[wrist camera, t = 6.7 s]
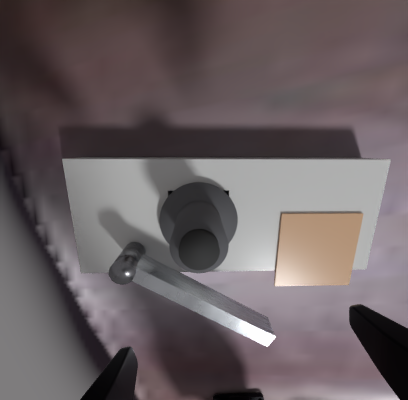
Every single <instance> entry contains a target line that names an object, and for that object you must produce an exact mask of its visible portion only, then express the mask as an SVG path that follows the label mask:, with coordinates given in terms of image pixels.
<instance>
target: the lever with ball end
mask: <svg viewBox="0 0 408 400" xmlns="http://www.w3.org/2000/svg"><path fill="white" fill-rule="evenodd" d="M145 253H146V251H145V248H144V246H143V245H142V244H140V243H138V242H130V243H128V244H127V245H126V246H125V248H124V249H123V250H122V252H121V253H120V255H119V256H118V257H117V259H116V260H115V261H114V263H113V264H112V265H111V267H110V269H109V277H110V278H111V280H112V281H114V282H115V283H117V284H122V285H123V284H128V283H130V282H131V281H132V282H135V283H137V284H139V285H141V286H143V287H145V288H147V289H149V290H151V291H153V292H155V293H157V294H159V295H161V296H163V297H165V298H168V299H170V300H172V301H174V302H176V303H178V304H180V305H182V306H184V307H186V308H188V309H190V310H192V311H194V312H196V313H199V314H201V315H203V316H205V317H207V318H209V319H211V320H213V321H215V322H217V323H219V324H221V325H223V326H225V327H227V328H229V329H232V330H234V331H236V332H238V333H240V334H242V335H244V336H246V337H248V338H250V339H252V340H254V341H256V342H258V343H260V344H262V345H265V346H267V347H268V345H269V344H270V343H271V342H272V341H273V340H274V338H275V337H276V336H275V334H274V331H273V329H272V327H271V324H270V322H269V319H268V317H266V316H264V315H262V314H260V313H258V312H256V311H254V310H252V309H250V308H248V307H246V306H244V305H242V304H240V303H239V302H237V301H235V300H233V299H231V298H229V297H227V296H225V295H223V294H221V293H219V292H217V291H215V290H213V289H211V288H209V287H207V286H205V285H203V284H201V283H199V282H198V281H196V280H194V279H192V278H190V277H188V276H186V275H184V274H182V273H180V272H178V271H176V270H174V269H172V268H170V267H168V266H166V265H164V264H162V263H160V262H158V261H157V260H155V259H153V258H151V257H149V256H147V255H145Z"/></svg>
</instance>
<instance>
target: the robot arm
mask: <svg viewBox="0 0 408 400" xmlns="http://www.w3.org/2000/svg"><path fill="white" fill-rule="evenodd" d="M349 322H350V325H351V328H352V329H353V331H354V332H355V334H356V336H357V337H358V339H359V340H360V342H361V344H362V345H363V347H364V348H365V350H366V352H367V353H368V355H369V356H370V358H371V359H372V361H373V363H374V364H375V366H376V367H377V369H378V370H379V372H380V373H381V375H382V376H383V377H384V379H385V380H386V382H387V383H388V384H389V386H390V387H391V388H392V390H393V391H394V392H395V394H396V395H397V396H398V398H399V399H400V400H408V328H406V327H404V326H402V325H400V324H398V323H396V322H394V321H392V320H390V319H389V318H387V317H385V316H383V315H381V314H379V313H377V312H375V311H373V310H371V309H369V308H368V307H366V306H364V305H361V304H358V305H352V306H350V308H349ZM137 368H138V362H137V358H136V356H135V353H134V351H133V348H132V347H125V348H121V349H120V350H119V351H118V353H117V354H116V355H115V356H114V358H113V359H112V360H111V361H110V363H109V364H108V365H107V367H106V368H105V369H104V370H103V372H102V373H101V374H100V375H99V377H98V378H97V379H96V380H95V382H94V383H93V384H92V385H91V387H90V388H89V389H88V390H87V392H86V393H85V394H84V396H83V397H82V398H81V399H80V400H133V398H134V390H135V383H136V375H137ZM213 400H264V398H263V395H262V394H261V393H249V394H217V395H214V396H213Z"/></svg>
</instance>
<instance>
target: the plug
mask: <svg viewBox="0 0 408 400" xmlns="http://www.w3.org/2000/svg"><path fill="white" fill-rule="evenodd" d="M159 223H160V229H161V232H162V235H163V237H164V238H165V240H166V241H167V243H168V244H169V245H170V246H169V248H170V253H171V256H172V258H173V260H174V261H175V263H176V264H177V265H178V266H179V267H181V268H182V269H184V270H186V271H189V272H192V273H205V272H209V271H212V270H214V269H215V268H217V267H218V266H220V265H221V263H222V262H223V261H224V260H225V258H226V256H227V253H228V248H229V243H230V241H231V240H232V238H233V237H234V235H235V232H236V229H237V223H238V216H237V211H236V208H235V205H234V203H233V202H232V200H231V198H230V197H229V196H228V195H227V194H226V193H225V192H224V191H223V190H222V189H220V188H219V187H217V186H215V185H212V184H209V183H204V182H193V183H188V184H185V185H183V186H181V187H179V188H177V189H176V190H174V191H173V192H172V193H171V194H170V195H169V196H168V197H167V199H166V200H165V202H164V204H163V206H162V208H161V212H160V218H159Z"/></svg>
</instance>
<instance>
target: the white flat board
mask: <svg viewBox="0 0 408 400" xmlns="http://www.w3.org/2000/svg"><path fill="white" fill-rule="evenodd" d="M390 161H391V160H390V159H373V158H221V157H80V158H67V159H62V162H63V168H64V174H65V180H66V186H67V192H68V198H69V204H70V210H71V216H72V222H73V228H74V234H75V240H76V246H77V252H78V258H79V264H80V270H81V273H109V269H110V267H111V265H112V264H113V263H114V261H115V260H116V259H117V257H118V256H119V255H120V253H121V252H122V250H123V249H124V248H125V246H126V245H127V244H128V243H130V242H138V243H140V244H142V245H143V246H144V248H145V251H146V253H145V255H147V256H149V257H151V258H153V259H155V260H157V261H158V262H160V263H162V264H164V265H166V266H168V267H170V268H172V269H174V270H176V271H178V272H189V271H186V270H184V269H182V268H181V267H179V266H178V265H177V264H176V263H175V261H174V260H173V258H172V256H171V253H170V248H169V246H170V245H169V244H168V243H167V241H166V240H165V238H164V237H163V235H162V232H161V229H160V223H159V218H160V212H161V208H162V206H163V204H164V202H165V200H166V199H167V197H168V196H169V195H170V194H171V193H172V192H173V191H174V190H176V189H177V188H179V187H181V186H183V185H185V184H188V183H193V182H204V183H209V184H212V185H215V186H217V187H219V188H220V189H222V190H224V192H225V193H226V194H227V195H228V196H229V197H230V198H231V200H232V202H233V203H234V205H235V208H236V211H237V216H238V223H237V229H236V232H235V235H234V237H233V238H232V240H231V241H230V243H229V248H228V253H227V256H226V258H225V260H224V261H223V262H222V263H221V265H220V266H218V267H217V268H215V269H214V270H212V271H275V279H274V286H316V285H349V282H350V277H351V272H352V269H366V267H367V263H368V258H369V254H370V250H371V245H372V241H373V236H374V232H375V227H376V223H377V219H378V214H379V210H380V205H381V201H382V196H383V192H384V188H385V183H386V179H387V174H388V170H389V166H390Z"/></svg>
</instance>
